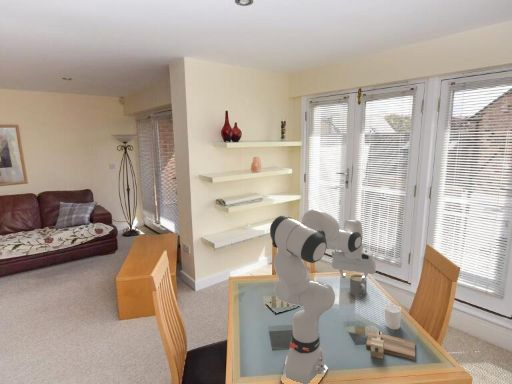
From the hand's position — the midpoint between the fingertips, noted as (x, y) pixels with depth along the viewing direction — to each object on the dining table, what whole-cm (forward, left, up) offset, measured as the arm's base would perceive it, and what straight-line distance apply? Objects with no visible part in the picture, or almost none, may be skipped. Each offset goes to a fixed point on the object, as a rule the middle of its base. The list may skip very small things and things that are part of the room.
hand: (353, 279), depth 142 cm
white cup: (+14, -17, -29) cm, 37 cm away
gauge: (-7, -12, -29) cm, 32 cm away
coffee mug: (+43, +4, -29) cm, 52 cm away
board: (-4, -17, -29) cm, 34 cm away
